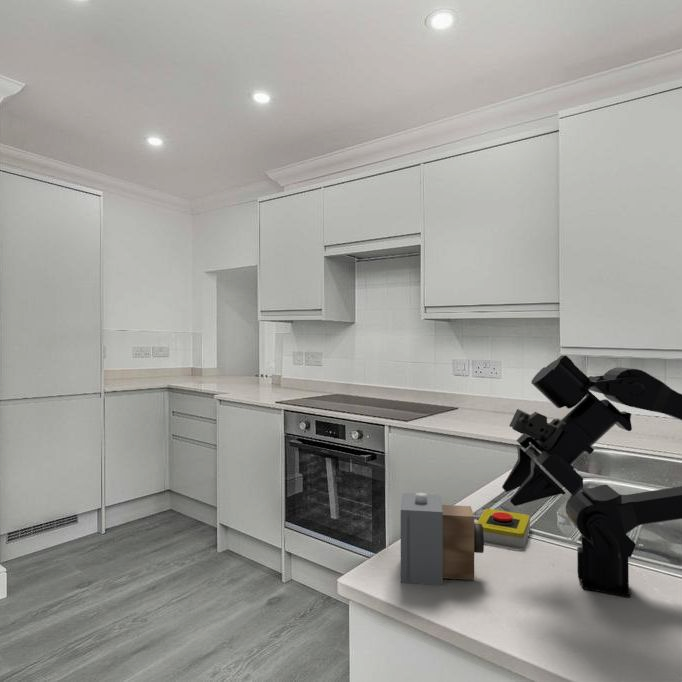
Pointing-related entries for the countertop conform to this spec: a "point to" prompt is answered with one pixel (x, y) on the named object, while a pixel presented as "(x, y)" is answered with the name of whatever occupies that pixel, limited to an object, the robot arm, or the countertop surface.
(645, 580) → the countertop surface
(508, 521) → the emergency button
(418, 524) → the housing
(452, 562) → the plunger
